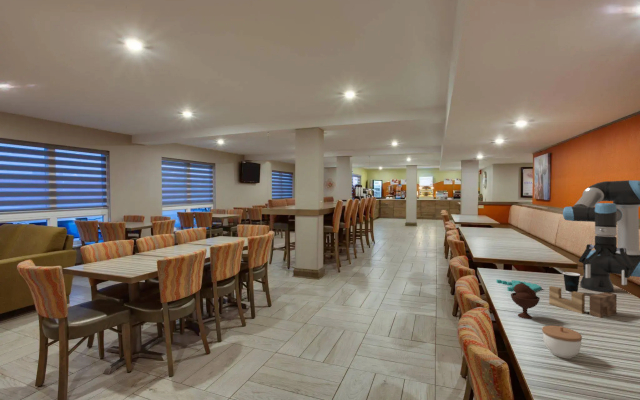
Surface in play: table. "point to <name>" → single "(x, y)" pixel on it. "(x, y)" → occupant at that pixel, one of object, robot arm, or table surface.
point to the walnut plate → (603, 304)
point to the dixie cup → (571, 281)
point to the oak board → (574, 304)
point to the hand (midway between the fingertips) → (605, 281)
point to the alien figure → (514, 282)
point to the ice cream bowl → (524, 299)
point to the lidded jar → (562, 341)
